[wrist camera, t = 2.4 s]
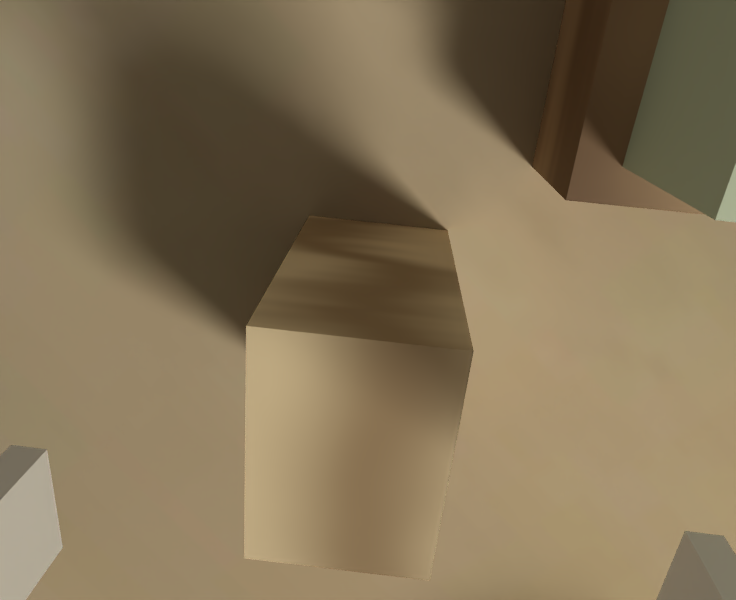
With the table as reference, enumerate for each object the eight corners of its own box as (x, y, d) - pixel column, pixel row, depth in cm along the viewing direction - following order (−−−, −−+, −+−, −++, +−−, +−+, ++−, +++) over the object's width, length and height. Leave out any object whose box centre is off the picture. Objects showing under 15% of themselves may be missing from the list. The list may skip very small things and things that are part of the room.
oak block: (300, 380, 24) (244, 558, 16) (309, 215, 21) (246, 325, 13) (421, 394, 24) (429, 580, 16) (447, 230, 21) (473, 351, 13)
